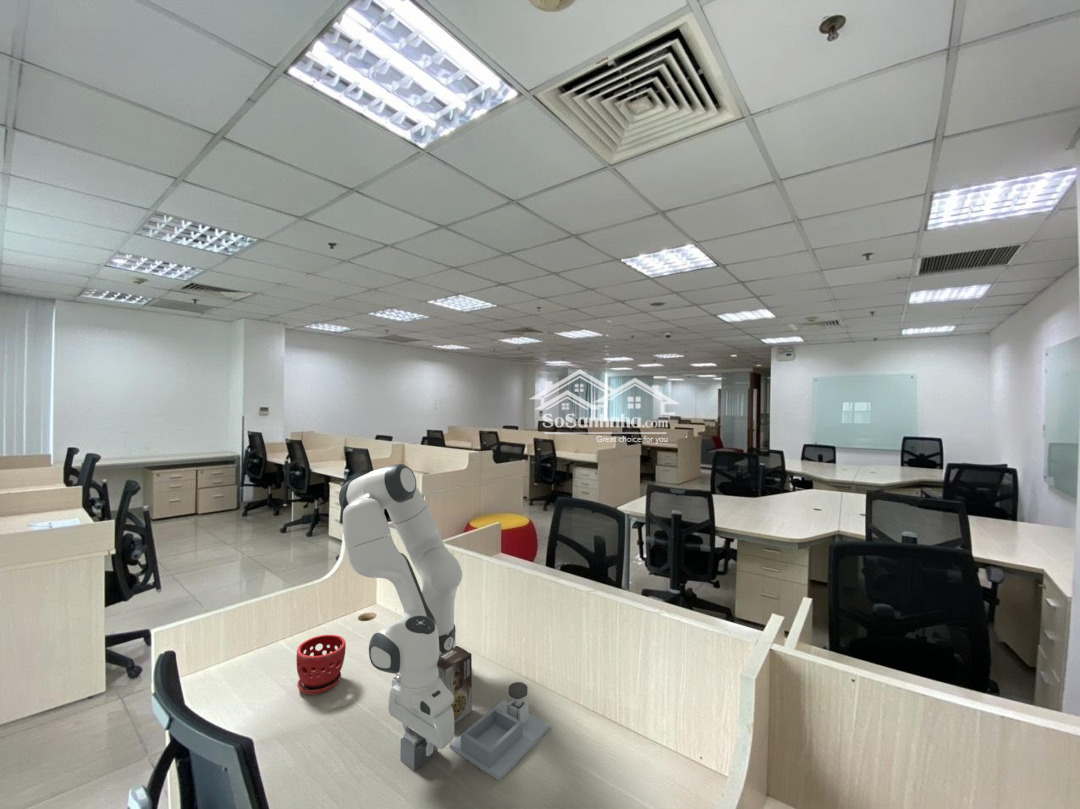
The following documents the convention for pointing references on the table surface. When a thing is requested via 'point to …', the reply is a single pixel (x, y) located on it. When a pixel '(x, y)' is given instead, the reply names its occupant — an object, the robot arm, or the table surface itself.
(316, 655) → the plant pot
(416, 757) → the grey rectangular block
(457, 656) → the coffee box
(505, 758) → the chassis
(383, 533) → the robot arm
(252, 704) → the table surface
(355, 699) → the table surface
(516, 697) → the dark grey round knob
